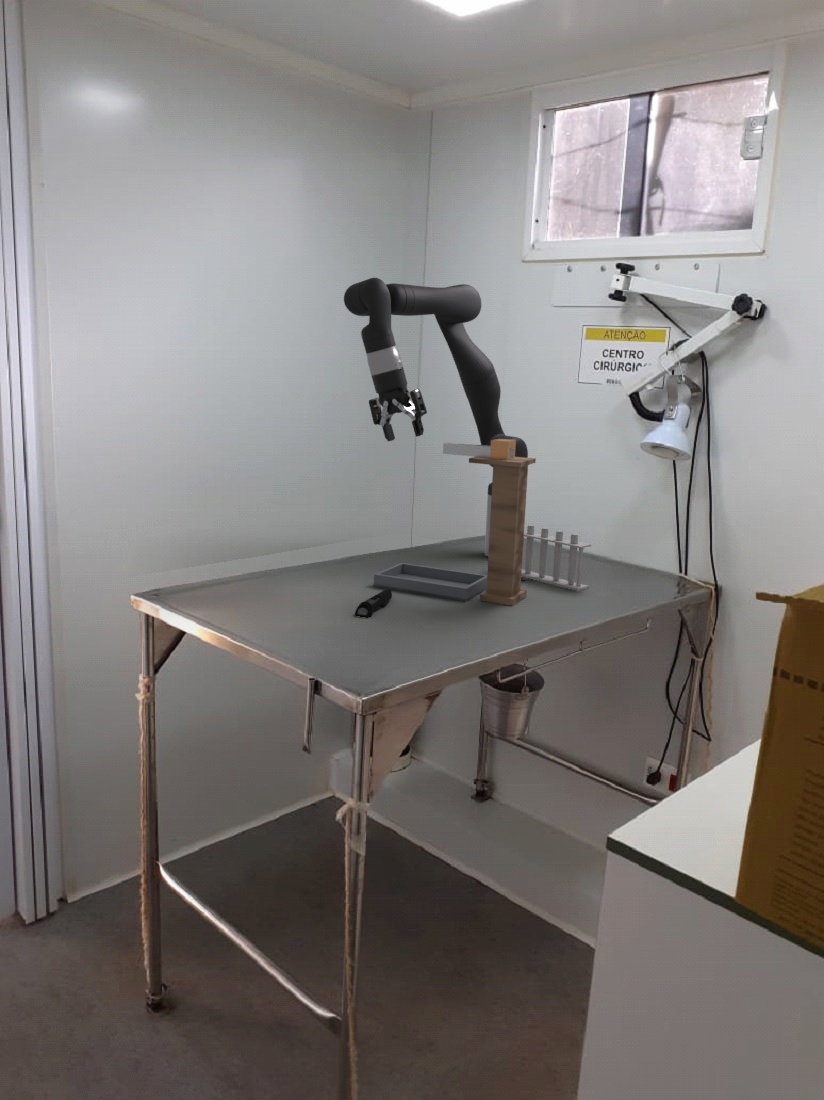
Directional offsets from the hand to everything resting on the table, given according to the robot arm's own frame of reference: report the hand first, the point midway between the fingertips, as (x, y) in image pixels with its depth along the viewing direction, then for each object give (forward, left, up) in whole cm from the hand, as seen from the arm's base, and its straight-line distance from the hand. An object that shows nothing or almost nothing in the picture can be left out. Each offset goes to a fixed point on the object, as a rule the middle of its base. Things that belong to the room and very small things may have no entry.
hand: (405, 438), depth 201 cm
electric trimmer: (+20, -11, -35) cm, 42 cm away
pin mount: (+15, +19, -35) cm, 42 cm away
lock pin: (+11, +14, -3) cm, 18 cm away
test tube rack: (+1, +36, -35) cm, 50 cm away
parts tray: (+5, +6, -35) cm, 36 cm away
